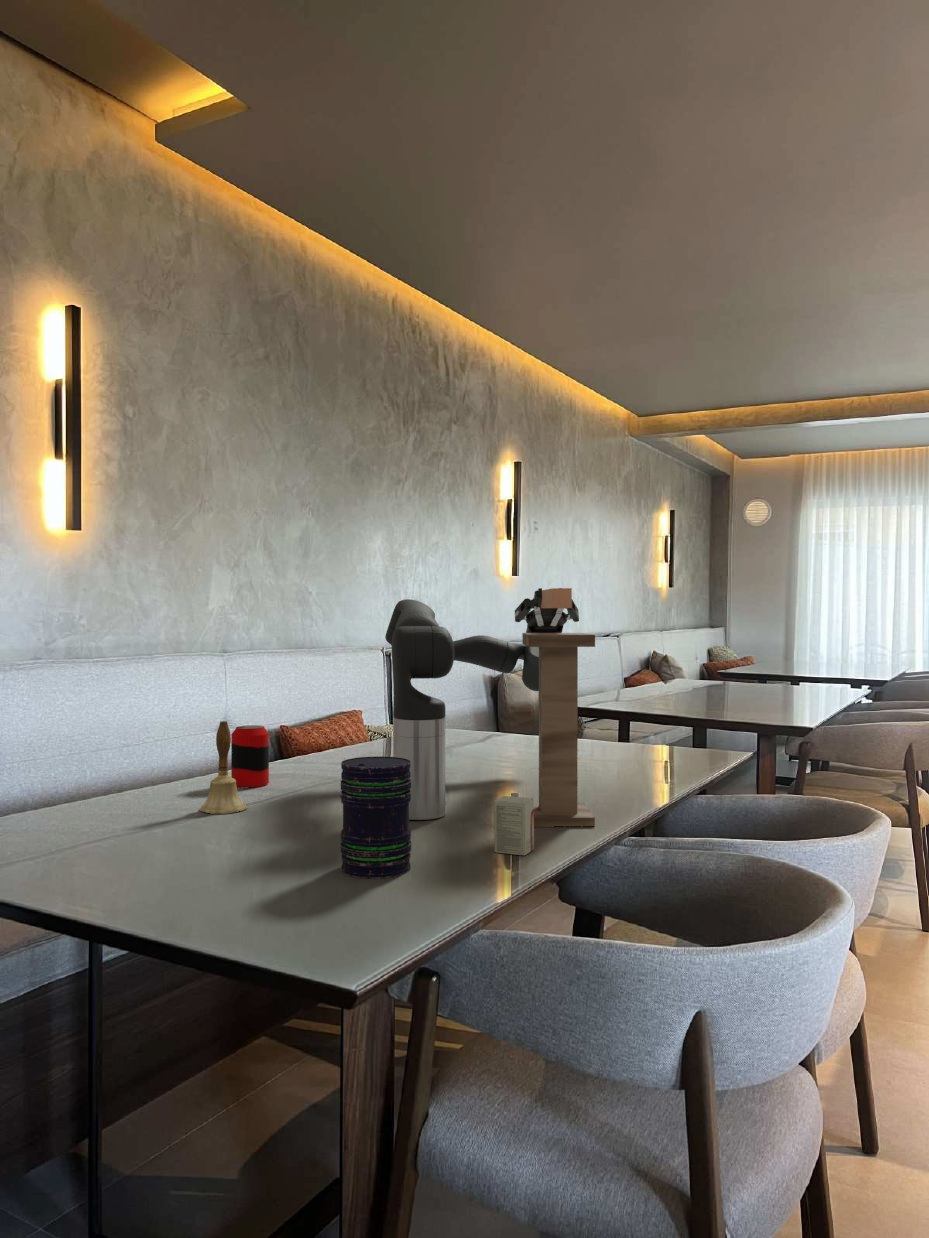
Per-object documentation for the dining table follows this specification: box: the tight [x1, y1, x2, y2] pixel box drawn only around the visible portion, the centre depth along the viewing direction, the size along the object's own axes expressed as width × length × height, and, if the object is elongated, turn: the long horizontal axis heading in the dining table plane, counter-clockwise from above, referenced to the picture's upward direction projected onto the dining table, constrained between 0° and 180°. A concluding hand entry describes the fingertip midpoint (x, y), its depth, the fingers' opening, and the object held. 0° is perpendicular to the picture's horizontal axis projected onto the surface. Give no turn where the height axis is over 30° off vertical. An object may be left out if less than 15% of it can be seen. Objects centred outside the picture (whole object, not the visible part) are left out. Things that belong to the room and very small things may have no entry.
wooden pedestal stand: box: [521, 632, 596, 828], centre depth 163 cm, size 14×11×32 cm
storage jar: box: [340, 756, 412, 880], centre depth 131 cm, size 10×10×15 cm
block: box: [540, 587, 573, 609], centre depth 178 cm, size 24×4×4 cm, turn 0°
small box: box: [493, 795, 535, 856], centre depth 140 cm, size 5×4×8 cm
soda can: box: [230, 724, 270, 788], centre depth 194 cm, size 8×8×12 cm
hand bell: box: [199, 720, 248, 815], centre depth 170 cm, size 8×8×16 cm
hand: (550, 592), depth 186 cm, fingers closed on block, 3 cm apart
